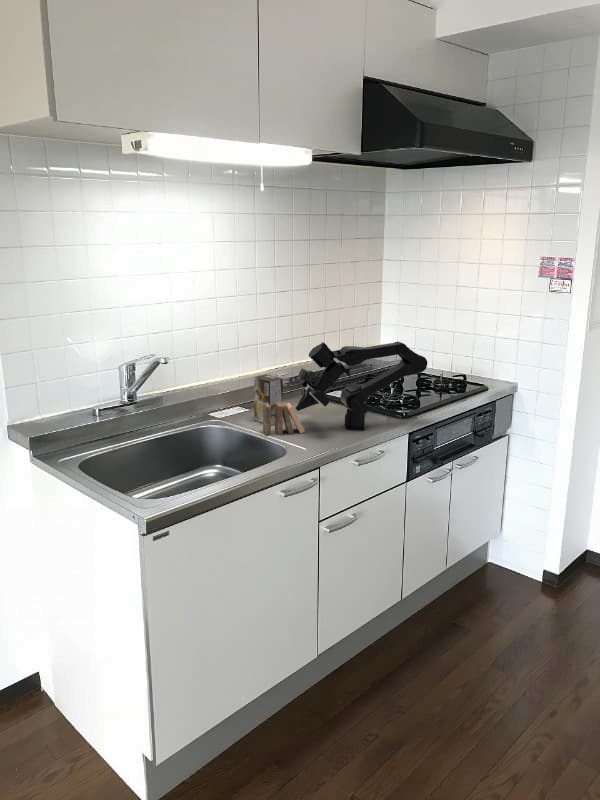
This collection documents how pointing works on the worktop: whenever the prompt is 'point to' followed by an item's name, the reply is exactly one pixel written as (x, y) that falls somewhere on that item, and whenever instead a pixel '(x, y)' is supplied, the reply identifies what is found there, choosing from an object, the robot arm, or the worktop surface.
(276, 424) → the walnut tile
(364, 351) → the robot arm
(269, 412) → the walnut tile
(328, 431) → the worktop surface
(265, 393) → the coffee box
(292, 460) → the worktop surface
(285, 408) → the walnut tile
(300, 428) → the tile
